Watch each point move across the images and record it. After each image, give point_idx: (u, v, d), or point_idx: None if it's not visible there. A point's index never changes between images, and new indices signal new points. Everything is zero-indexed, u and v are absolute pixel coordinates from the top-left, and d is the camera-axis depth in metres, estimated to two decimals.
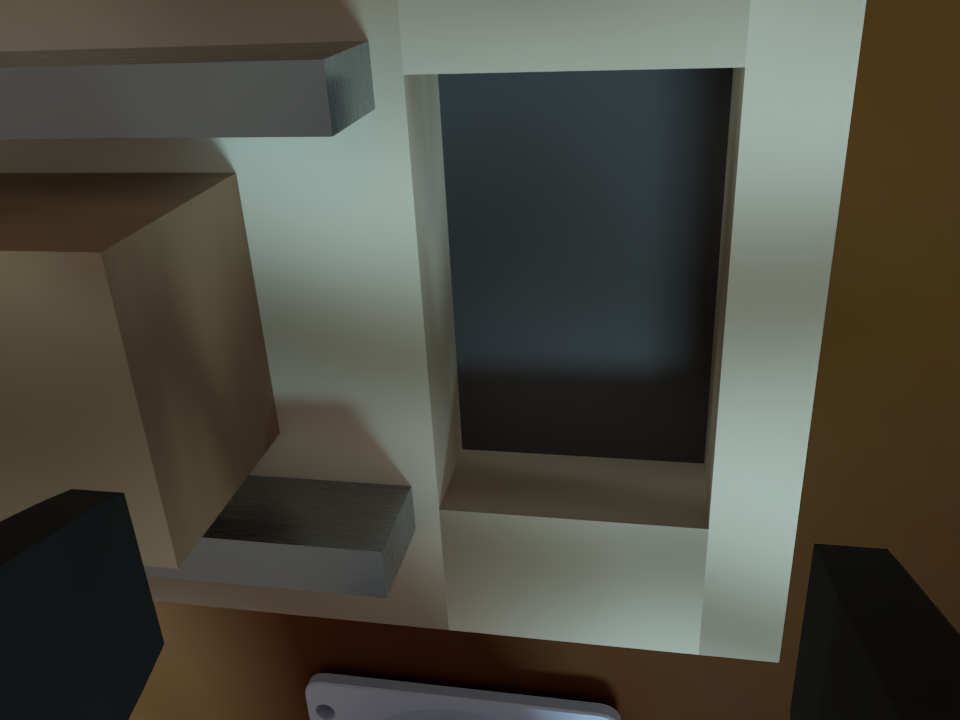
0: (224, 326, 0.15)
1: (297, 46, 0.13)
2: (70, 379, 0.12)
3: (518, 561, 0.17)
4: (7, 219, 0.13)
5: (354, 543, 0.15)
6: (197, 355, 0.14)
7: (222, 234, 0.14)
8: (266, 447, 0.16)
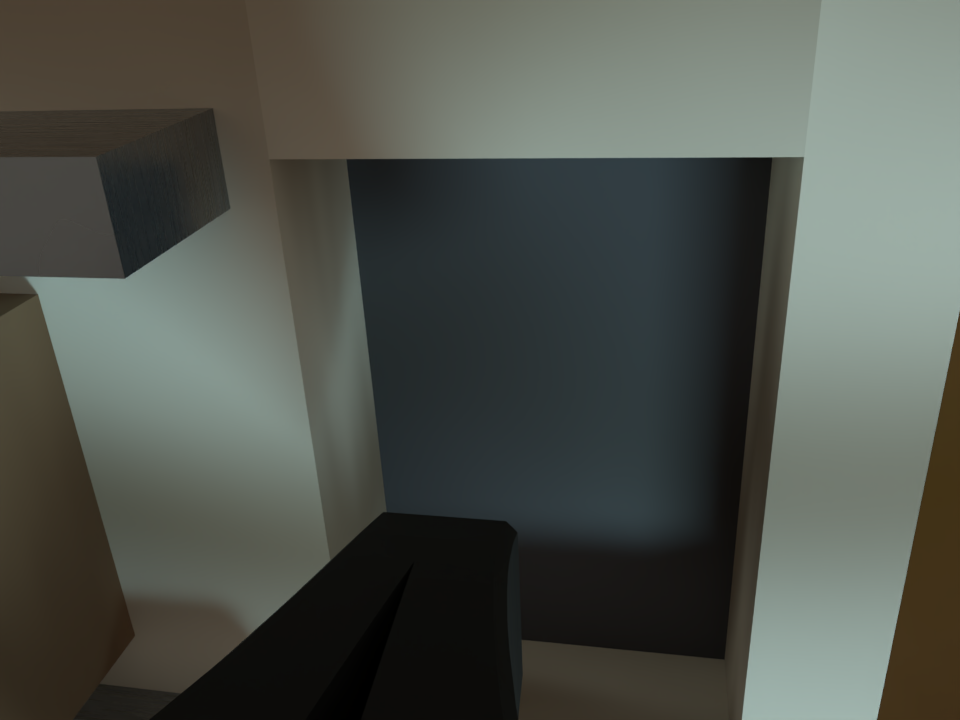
0: (16, 526, 0.10)
1: (98, 118, 0.08)
2: None
3: None
4: None
5: None
6: None
7: (10, 392, 0.10)
8: (108, 665, 0.12)
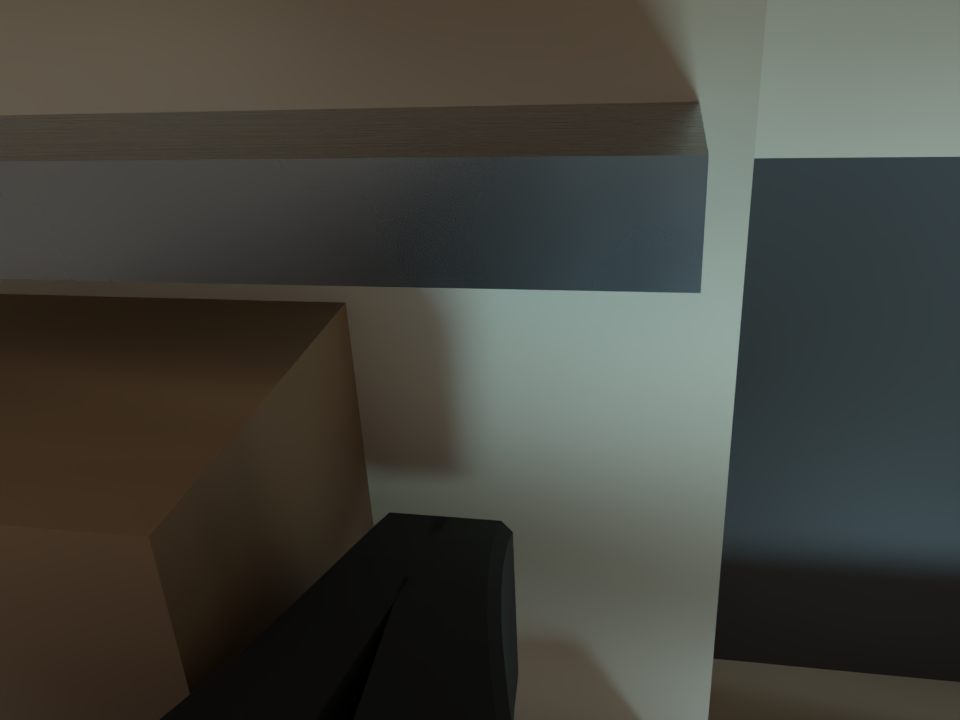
0: (330, 551, 0.09)
1: (583, 113, 0.08)
2: None
3: None
4: None
5: None
6: None
7: (328, 407, 0.09)
8: None
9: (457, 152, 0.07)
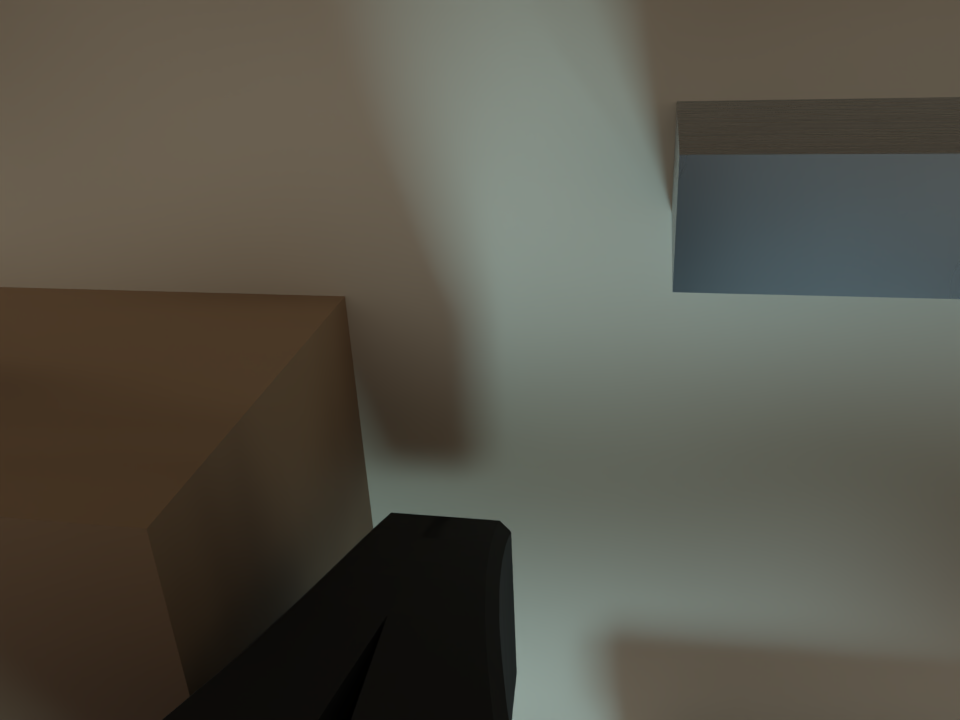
0: (328, 546, 0.09)
1: None
2: (84, 719, 0.07)
3: None
4: None
5: None
6: None
7: (327, 402, 0.09)
8: None
9: None
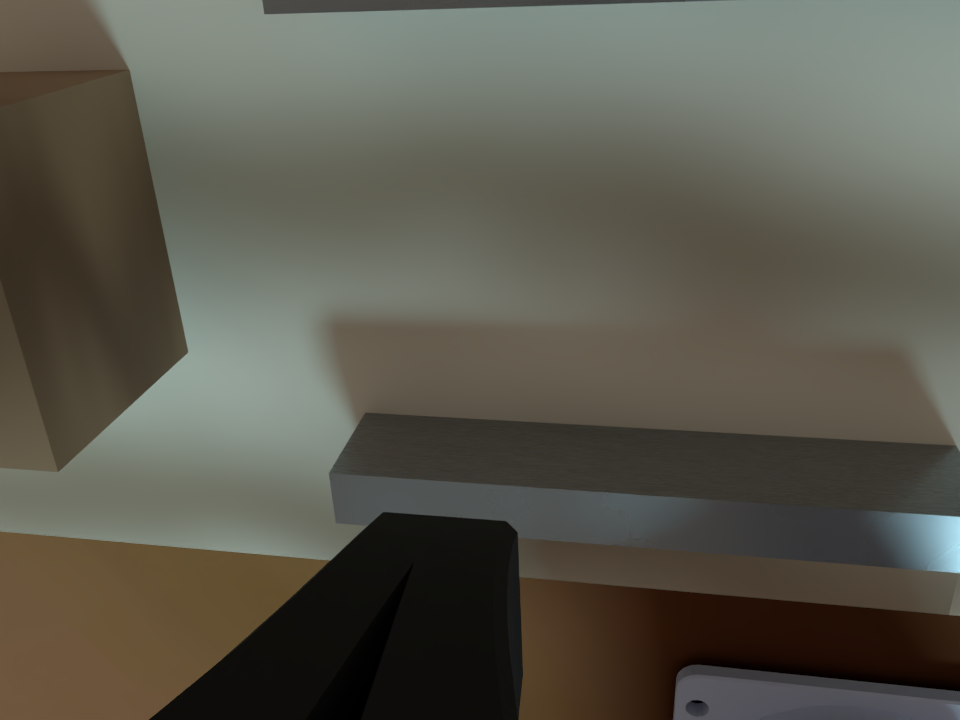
0: (115, 229, 0.14)
1: None
2: None
3: None
4: None
5: (950, 509, 0.13)
6: (81, 252, 0.13)
7: (112, 131, 0.14)
8: (170, 364, 0.16)
9: None
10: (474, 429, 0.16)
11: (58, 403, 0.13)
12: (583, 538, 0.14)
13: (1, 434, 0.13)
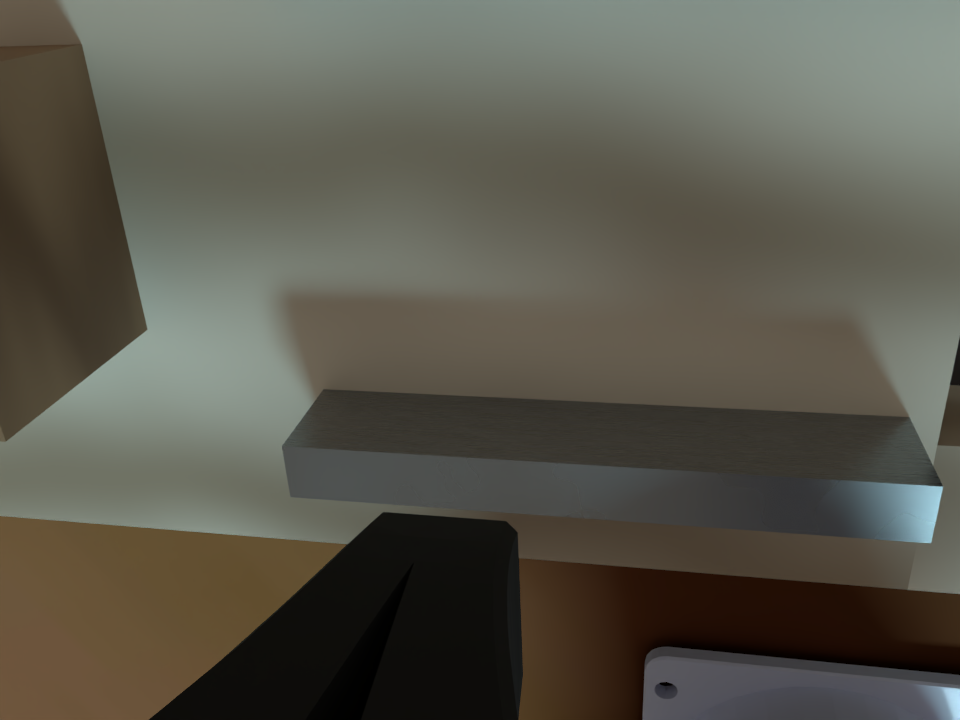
0: (67, 202, 0.14)
1: None
2: None
3: None
4: None
5: (898, 477, 0.13)
6: (29, 223, 0.13)
7: (64, 105, 0.14)
8: (128, 340, 0.16)
9: None
10: (430, 404, 0.16)
11: (5, 373, 0.13)
12: (535, 510, 0.14)
13: None
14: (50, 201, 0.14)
